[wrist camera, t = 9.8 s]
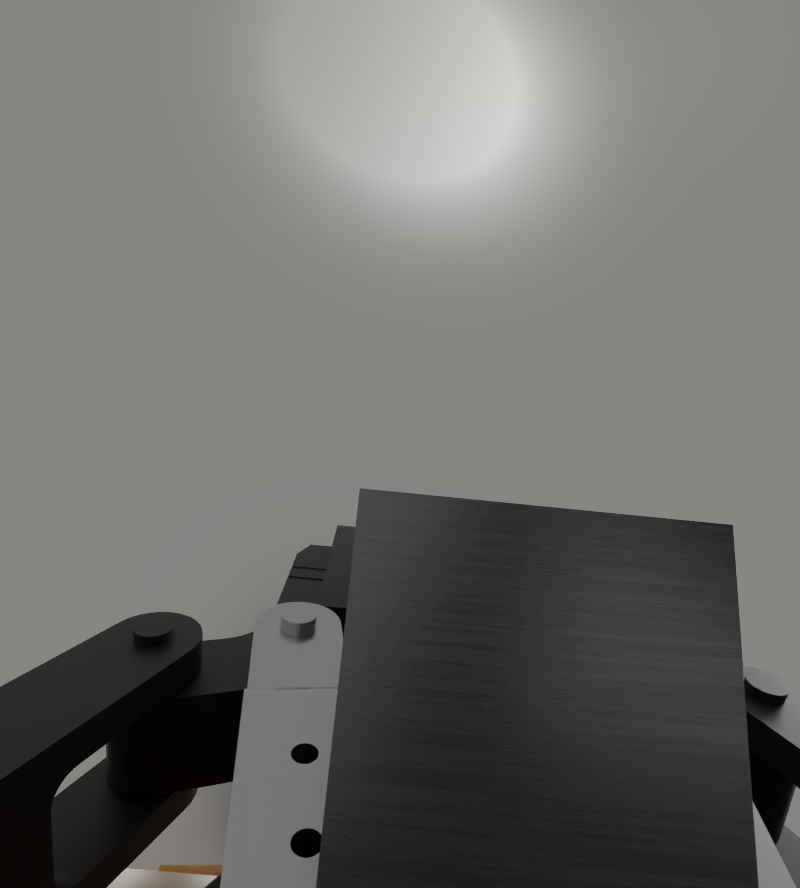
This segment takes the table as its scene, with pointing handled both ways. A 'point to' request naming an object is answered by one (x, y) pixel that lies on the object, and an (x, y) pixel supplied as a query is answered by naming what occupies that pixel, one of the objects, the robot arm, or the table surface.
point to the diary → (193, 869)
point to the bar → (538, 702)
